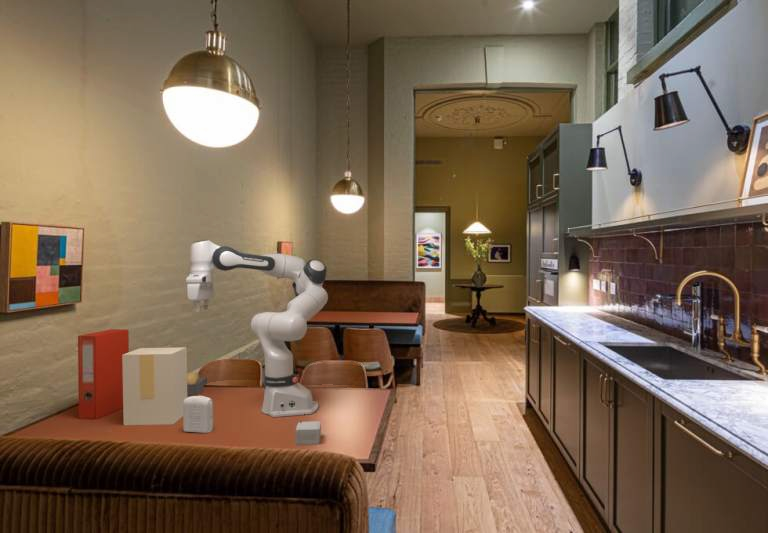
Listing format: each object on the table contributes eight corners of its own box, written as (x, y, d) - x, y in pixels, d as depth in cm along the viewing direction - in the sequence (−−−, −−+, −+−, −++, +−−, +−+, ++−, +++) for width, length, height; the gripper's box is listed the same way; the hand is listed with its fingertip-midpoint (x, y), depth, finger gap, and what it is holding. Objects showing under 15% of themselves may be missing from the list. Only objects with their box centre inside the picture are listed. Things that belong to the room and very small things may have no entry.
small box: (319, 444, 148) (319, 429, 148) (295, 445, 147) (294, 429, 147) (321, 435, 156) (321, 420, 156) (298, 436, 155) (297, 421, 155)
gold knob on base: (197, 395, 204) (196, 374, 204) (178, 396, 204) (178, 375, 203) (212, 383, 225) (211, 364, 225) (195, 383, 224) (195, 364, 224)
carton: (187, 412, 181) (186, 347, 181) (172, 424, 168) (171, 354, 167) (141, 413, 181) (140, 348, 180) (123, 425, 167) (122, 354, 167)
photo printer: (215, 429, 162) (214, 394, 162) (208, 433, 158) (208, 398, 158) (188, 428, 164) (187, 393, 164) (181, 432, 160) (180, 397, 160)
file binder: (129, 405, 191) (128, 329, 191) (97, 419, 174) (95, 336, 174) (113, 404, 192) (111, 329, 192) (78, 418, 175) (77, 335, 175)
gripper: (203, 277, 205) (203, 308, 205) (184, 279, 184) (184, 313, 184) (217, 277, 205) (217, 307, 205) (199, 278, 184) (200, 313, 184)
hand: (202, 310), depth 194 cm, fingers open, 8 cm apart
